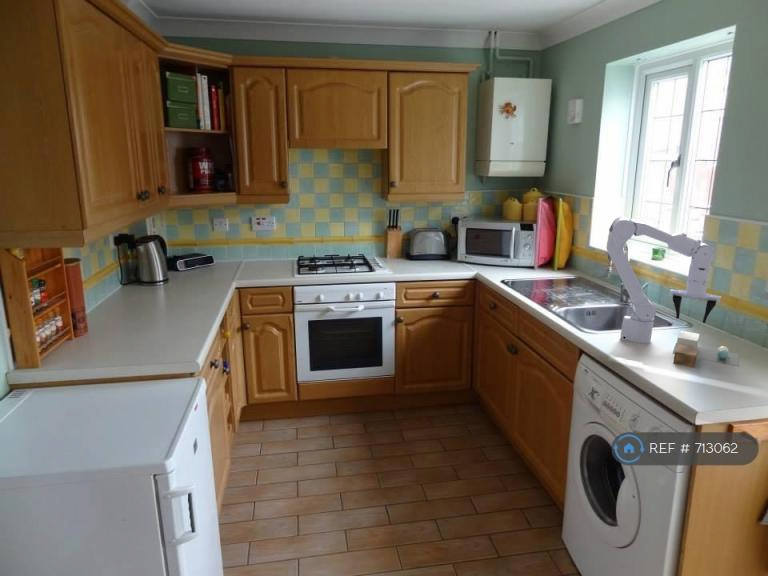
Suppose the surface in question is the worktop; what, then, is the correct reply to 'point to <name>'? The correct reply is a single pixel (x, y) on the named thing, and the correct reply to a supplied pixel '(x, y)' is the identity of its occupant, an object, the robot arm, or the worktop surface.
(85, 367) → the worktop surface
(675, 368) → the worktop surface
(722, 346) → the marble
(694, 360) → the walnut box
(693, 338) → the white box
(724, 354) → the marble
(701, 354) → the board
